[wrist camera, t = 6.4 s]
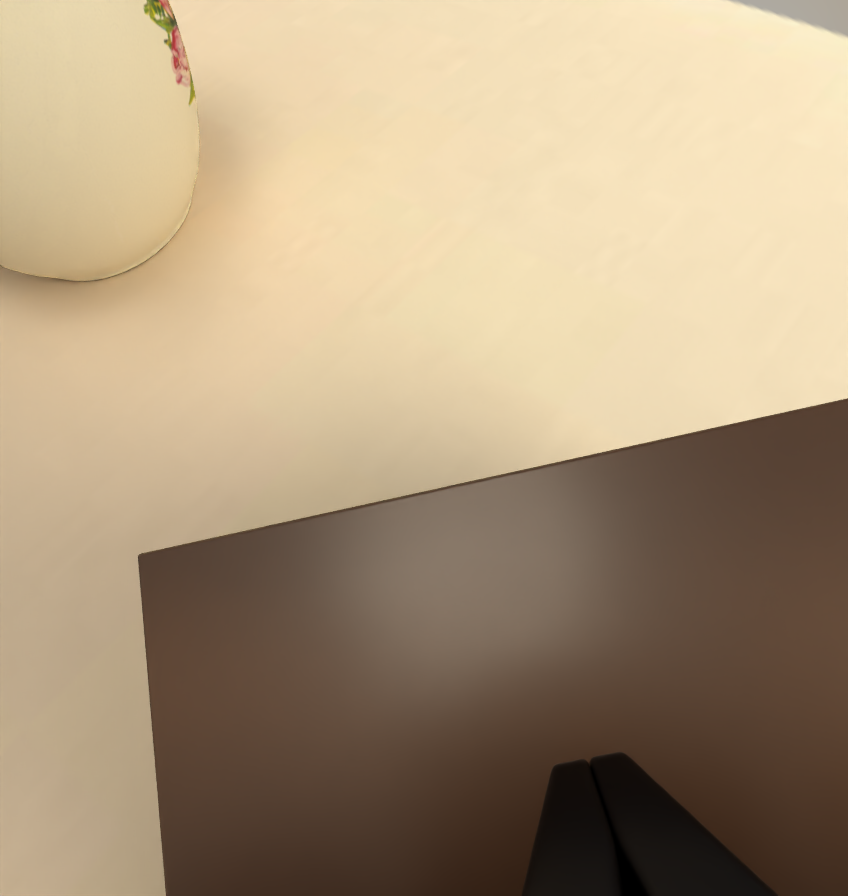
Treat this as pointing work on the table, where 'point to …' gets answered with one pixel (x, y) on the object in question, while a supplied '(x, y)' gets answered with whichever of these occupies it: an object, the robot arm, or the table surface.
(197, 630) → the lid
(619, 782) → the robot arm
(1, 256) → the pitcher
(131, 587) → the table surface
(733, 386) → the table surface
